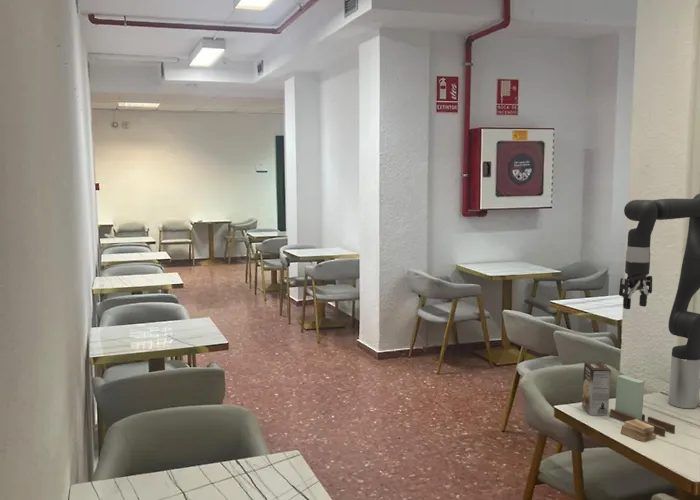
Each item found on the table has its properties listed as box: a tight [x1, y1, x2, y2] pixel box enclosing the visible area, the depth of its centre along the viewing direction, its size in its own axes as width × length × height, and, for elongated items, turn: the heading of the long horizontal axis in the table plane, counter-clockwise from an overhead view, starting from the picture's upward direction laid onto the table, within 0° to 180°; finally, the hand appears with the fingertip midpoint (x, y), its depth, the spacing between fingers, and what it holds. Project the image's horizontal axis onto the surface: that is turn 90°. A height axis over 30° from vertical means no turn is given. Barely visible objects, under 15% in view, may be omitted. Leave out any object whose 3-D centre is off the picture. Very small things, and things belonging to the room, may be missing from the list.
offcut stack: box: [620, 419, 657, 443], centre depth 206 cm, size 6×8×4 cm
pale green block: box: [614, 374, 645, 420], centre depth 219 cm, size 3×8×14 cm, turn 31°
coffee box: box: [581, 361, 612, 417], centre depth 227 cm, size 9×6×16 cm
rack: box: [609, 408, 676, 438], centre depth 216 cm, size 6×20×2 cm, turn 31°
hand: (634, 307), depth 225 cm, fingers open, 8 cm apart
